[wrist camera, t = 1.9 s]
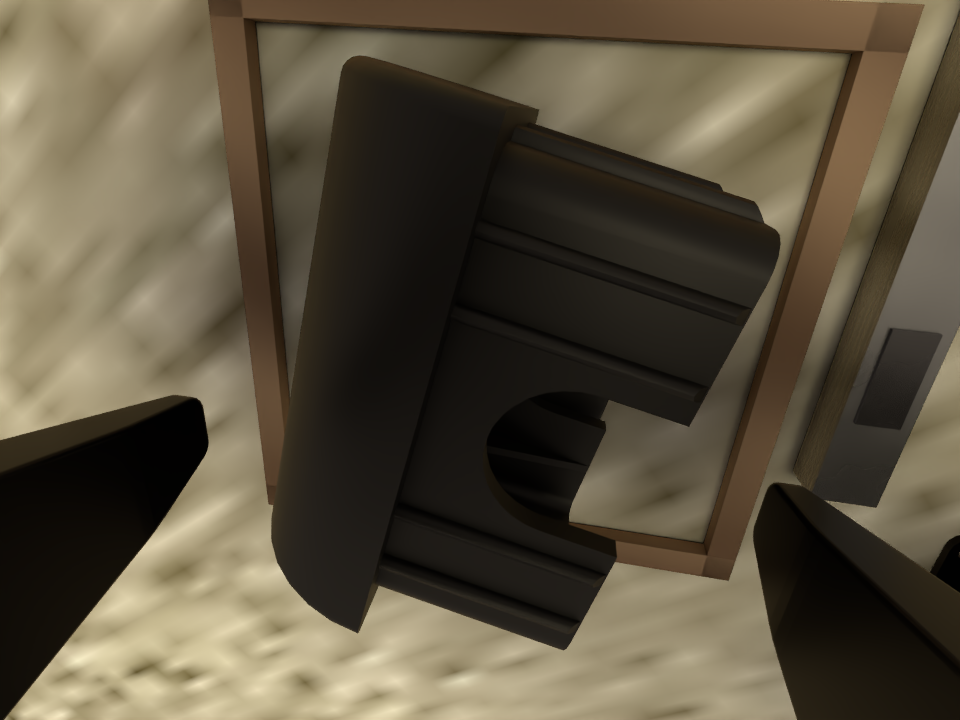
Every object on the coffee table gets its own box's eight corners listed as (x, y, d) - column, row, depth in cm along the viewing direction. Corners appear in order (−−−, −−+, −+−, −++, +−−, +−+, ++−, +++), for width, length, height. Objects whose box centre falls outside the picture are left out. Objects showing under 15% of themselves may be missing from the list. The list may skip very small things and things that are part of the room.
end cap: (415, 69, 13) (266, 27, 7) (709, 164, 13) (832, 210, 6) (342, 419, 17) (211, 588, 11) (559, 493, 17) (549, 708, 11)
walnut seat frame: (724, 568, 17) (728, 580, 16) (276, 494, 19) (268, 504, 18) (910, 9, 11) (924, 4, 10) (218, -22, 13) (204, -27, 12)
